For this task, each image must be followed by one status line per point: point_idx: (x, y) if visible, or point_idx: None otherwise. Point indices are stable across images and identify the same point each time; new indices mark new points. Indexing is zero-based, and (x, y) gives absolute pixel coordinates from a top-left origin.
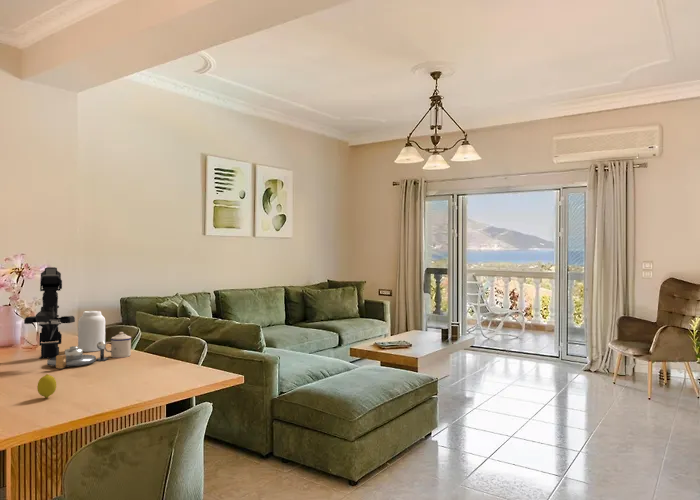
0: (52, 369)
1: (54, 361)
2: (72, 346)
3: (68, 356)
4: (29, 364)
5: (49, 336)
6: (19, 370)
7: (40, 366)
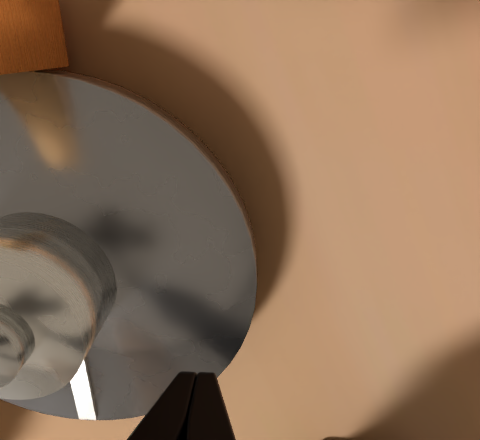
0: (125, 44)
1: (143, 156)
2: (8, 381)
3: (29, 230)
4: (421, 282)
5: (172, 416)
6: (430, 22)
7: (299, 195)
